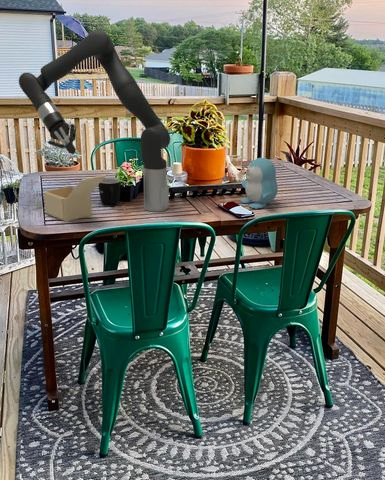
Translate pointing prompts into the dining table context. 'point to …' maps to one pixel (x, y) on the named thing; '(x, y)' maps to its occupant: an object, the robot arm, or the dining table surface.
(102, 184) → the mug
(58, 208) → the carton
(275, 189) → the toy
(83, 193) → the front flap
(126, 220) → the dining table surface
